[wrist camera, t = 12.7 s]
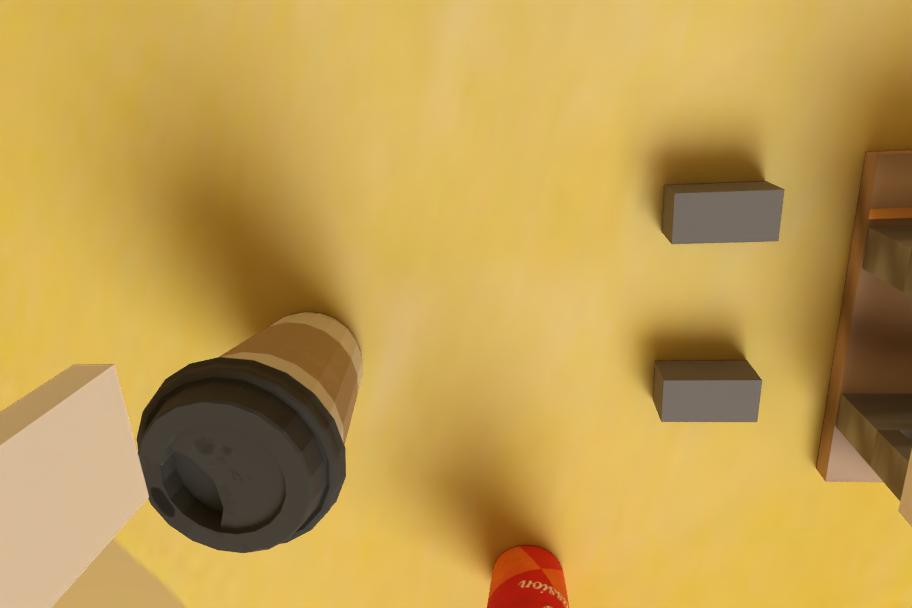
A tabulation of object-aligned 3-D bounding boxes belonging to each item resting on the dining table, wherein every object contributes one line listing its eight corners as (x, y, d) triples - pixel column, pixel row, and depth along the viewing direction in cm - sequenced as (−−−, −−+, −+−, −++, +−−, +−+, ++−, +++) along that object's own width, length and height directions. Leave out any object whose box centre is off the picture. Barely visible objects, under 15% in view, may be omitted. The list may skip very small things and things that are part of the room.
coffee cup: (210, 316, 46) (72, 423, 32) (347, 258, 44) (262, 347, 30) (286, 444, 49) (190, 592, 35) (418, 396, 47) (371, 537, 33)
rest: (664, 184, 40) (674, 193, 37) (765, 181, 39) (784, 189, 36) (652, 399, 45) (661, 421, 42) (742, 399, 44) (757, 422, 41)
